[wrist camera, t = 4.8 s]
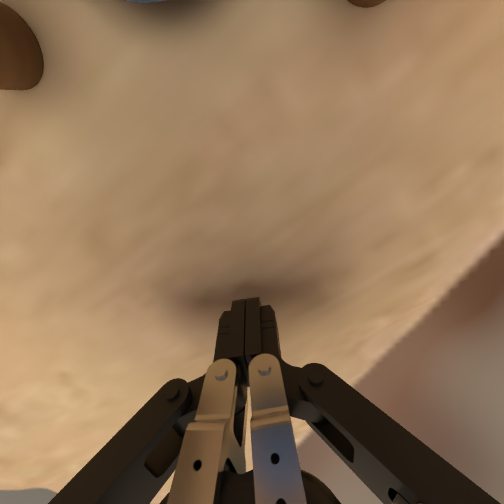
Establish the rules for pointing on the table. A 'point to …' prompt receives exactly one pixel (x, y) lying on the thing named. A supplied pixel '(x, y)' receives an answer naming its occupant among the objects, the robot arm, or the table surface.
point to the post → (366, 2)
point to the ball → (145, 1)
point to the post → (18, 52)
